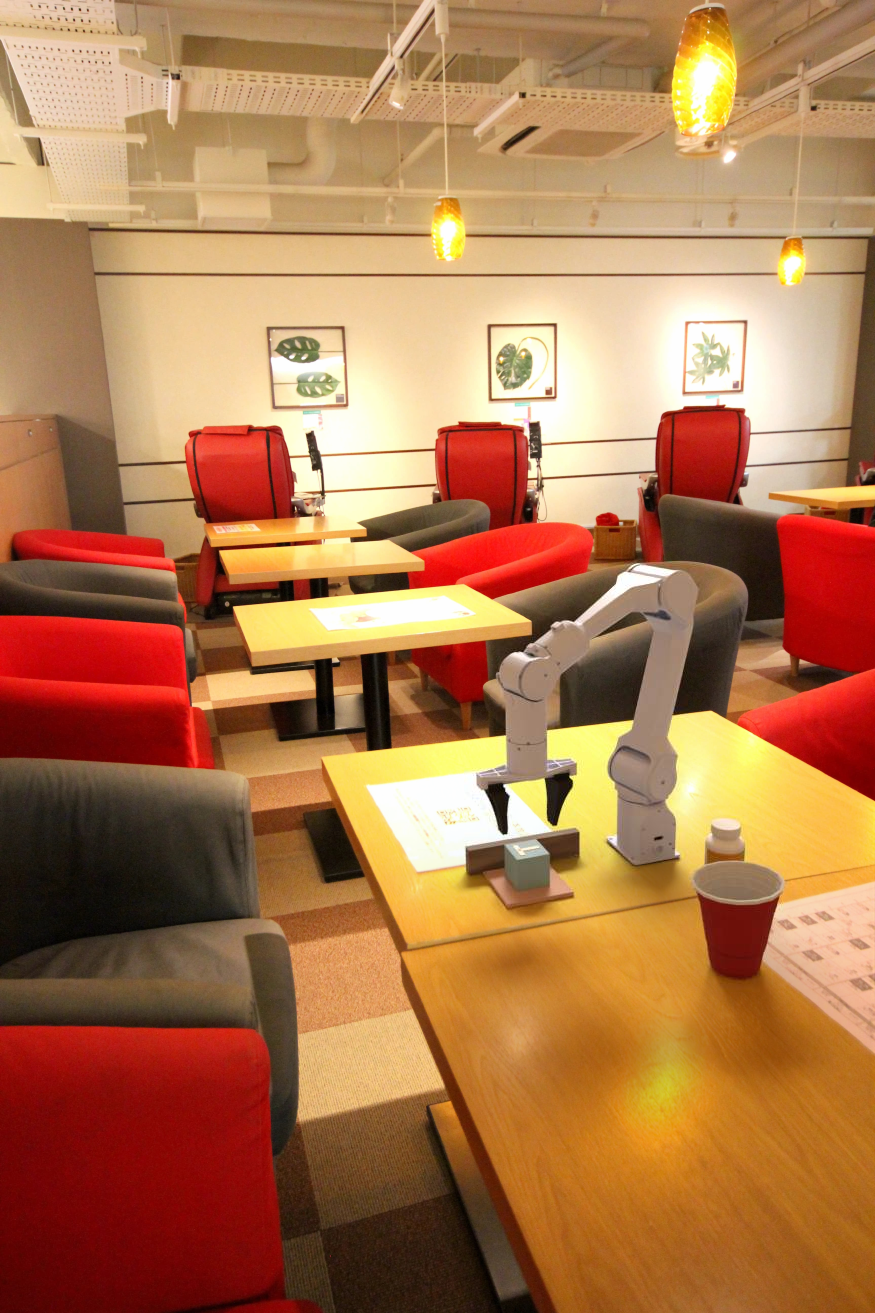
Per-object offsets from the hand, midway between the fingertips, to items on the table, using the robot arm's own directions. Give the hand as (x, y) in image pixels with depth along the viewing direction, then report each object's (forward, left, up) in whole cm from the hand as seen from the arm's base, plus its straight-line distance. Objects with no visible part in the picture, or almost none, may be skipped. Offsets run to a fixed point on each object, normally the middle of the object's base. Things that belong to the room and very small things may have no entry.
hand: (527, 827), depth 130 cm
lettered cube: (0, 0, -8) cm, 8 cm away
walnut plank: (+6, -2, -9) cm, 11 cm away
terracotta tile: (0, 0, -9) cm, 9 cm away
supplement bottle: (-10, -26, -9) cm, 29 cm away
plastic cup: (-27, -16, -9) cm, 33 cm away
